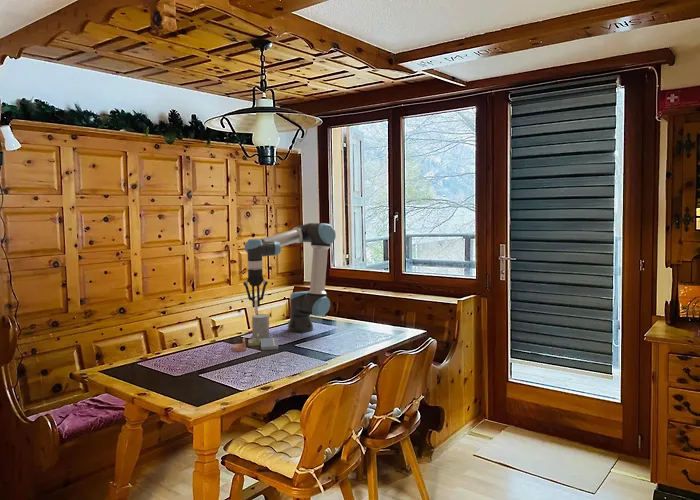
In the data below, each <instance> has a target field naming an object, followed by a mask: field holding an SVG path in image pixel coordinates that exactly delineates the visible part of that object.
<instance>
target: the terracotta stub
mask: <svg viewBox="0 0 700 500" xmlns="http://www.w3.org/2000/svg"><path fill="white" fill-rule="evenodd" d="M246 348H247V346H246V338H245V337H242V343H234V344H233V352H239V351H240V352H243V351H246V350H247V349H246Z"/></svg>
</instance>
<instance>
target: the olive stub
mask: <svg viewBox="0 0 700 500" xmlns="http://www.w3.org/2000/svg"><path fill="white" fill-rule="evenodd" d="M247 341H248V345H247V346H248V347H250V346H251V347H252V346H255V347H257V346H261V343H260V339H259V333H257V339H254V338H251V339H248V340H247Z"/></svg>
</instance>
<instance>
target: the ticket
mask: <svg viewBox="0 0 700 500" xmlns="http://www.w3.org/2000/svg"><path fill="white" fill-rule="evenodd" d="M259 340H260V350H261V351H269V350H279V347H280V346H279V342H278V338H277V337H269V338H263V339H259Z"/></svg>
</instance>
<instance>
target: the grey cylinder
mask: <svg viewBox="0 0 700 500" xmlns="http://www.w3.org/2000/svg"><path fill="white" fill-rule="evenodd" d="M269 317H270V315H269V314H265V313H261V314H253V315H252V316H251V318H252V319H251V320H252V321H251V322H252V323H251V325H252V328H251V330H252V332H251V333H252V337H251V339H257V333H259V340H260V339H263V338H270V318H269Z"/></svg>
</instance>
